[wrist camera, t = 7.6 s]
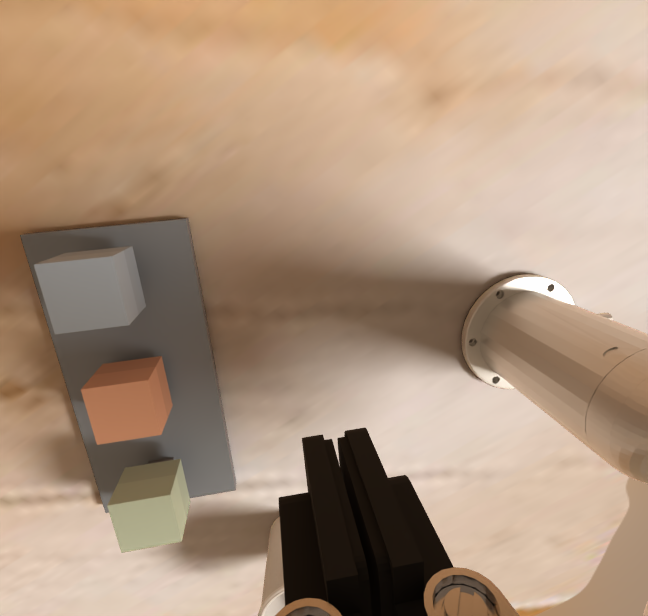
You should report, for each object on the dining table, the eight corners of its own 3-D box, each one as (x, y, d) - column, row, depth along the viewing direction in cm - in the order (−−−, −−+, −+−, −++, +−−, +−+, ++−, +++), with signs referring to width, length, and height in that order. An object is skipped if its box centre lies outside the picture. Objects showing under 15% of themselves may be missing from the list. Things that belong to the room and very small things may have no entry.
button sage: (180, 458, 39) (170, 494, 34) (190, 501, 40) (181, 541, 36) (124, 467, 38) (107, 505, 33) (137, 511, 39) (121, 552, 35)
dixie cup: (283, 570, 49) (289, 664, 39) (243, 526, 46) (239, 615, 37) (343, 534, 49) (363, 619, 39) (306, 488, 46) (318, 567, 36)
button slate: (132, 246, 32) (112, 256, 28) (146, 306, 34) (129, 325, 29) (65, 252, 32) (33, 264, 27) (82, 314, 33) (54, 334, 29)
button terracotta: (161, 355, 37) (148, 380, 32) (172, 405, 38) (161, 434, 34) (102, 363, 36) (80, 389, 32) (116, 413, 38) (97, 444, 33)
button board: (188, 217, 36) (181, 221, 33) (236, 482, 44) (234, 505, 41) (27, 233, 34) (3, 238, 31) (109, 504, 43) (97, 530, 40)
